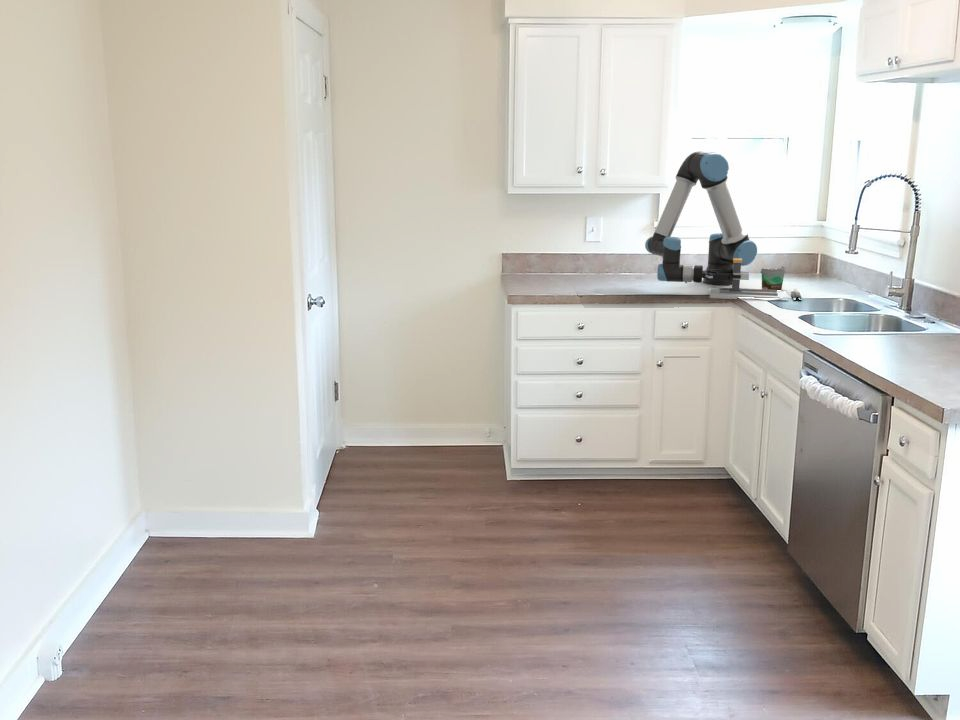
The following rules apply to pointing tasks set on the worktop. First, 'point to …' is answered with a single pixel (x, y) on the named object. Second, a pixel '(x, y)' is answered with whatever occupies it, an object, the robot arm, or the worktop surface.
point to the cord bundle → (795, 294)
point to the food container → (772, 278)
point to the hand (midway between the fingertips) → (748, 275)
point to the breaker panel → (746, 293)
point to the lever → (736, 269)
